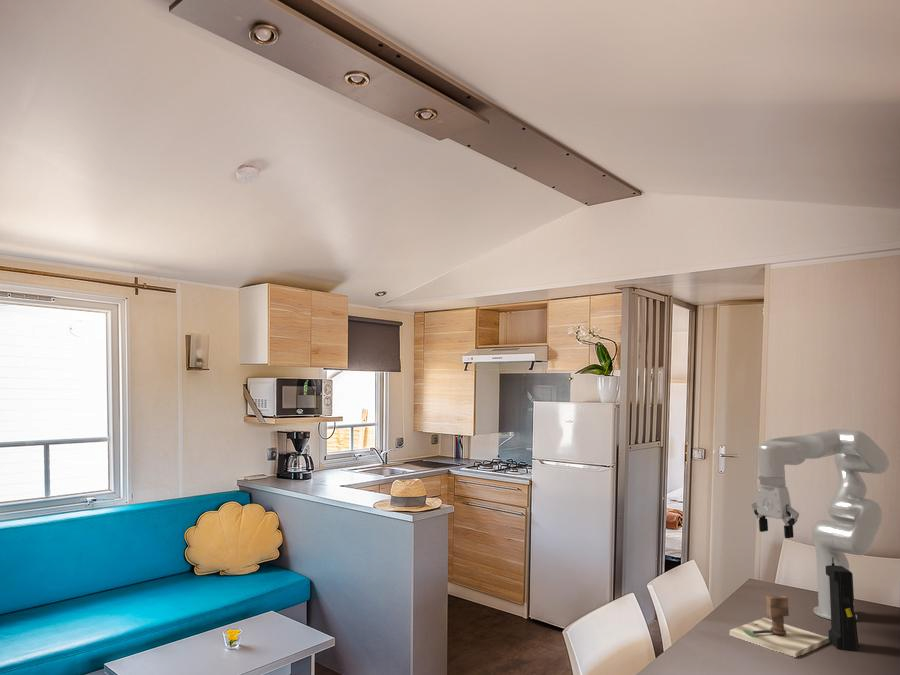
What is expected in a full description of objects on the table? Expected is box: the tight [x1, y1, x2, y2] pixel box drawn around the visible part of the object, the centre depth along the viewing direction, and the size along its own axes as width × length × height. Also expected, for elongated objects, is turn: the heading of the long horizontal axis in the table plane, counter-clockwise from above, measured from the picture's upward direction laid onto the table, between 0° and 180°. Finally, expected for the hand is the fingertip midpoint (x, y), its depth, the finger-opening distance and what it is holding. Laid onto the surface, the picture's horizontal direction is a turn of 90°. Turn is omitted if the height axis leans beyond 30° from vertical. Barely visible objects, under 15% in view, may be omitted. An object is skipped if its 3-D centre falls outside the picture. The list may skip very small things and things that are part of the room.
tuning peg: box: [753, 595, 790, 635], centre depth 190 cm, size 12×4×11 cm, turn 99°
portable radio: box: [826, 559, 860, 652], centre depth 185 cm, size 8×6×25 cm
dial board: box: [729, 617, 830, 658], centre depth 190 cm, size 20×20×2 cm
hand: (776, 534), depth 202 cm, fingers open, 9 cm apart
